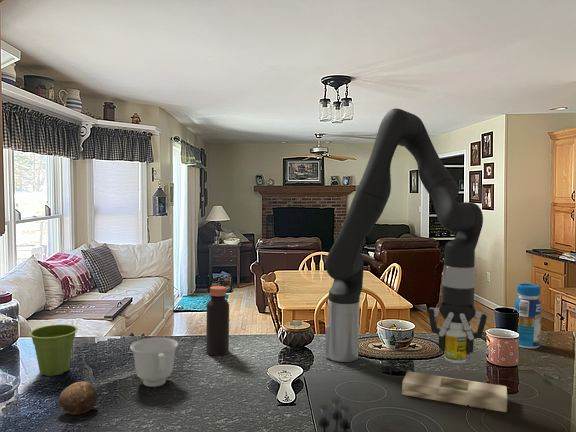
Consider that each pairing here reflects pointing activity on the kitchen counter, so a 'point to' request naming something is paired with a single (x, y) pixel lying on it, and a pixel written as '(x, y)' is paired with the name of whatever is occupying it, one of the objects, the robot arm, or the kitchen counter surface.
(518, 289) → the beverage bottle
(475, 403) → the wooden plank
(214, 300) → the vinegar
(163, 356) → the teacup
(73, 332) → the plant pot
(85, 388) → the brown potato
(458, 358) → the supplement bottle
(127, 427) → the kitchen counter surface
